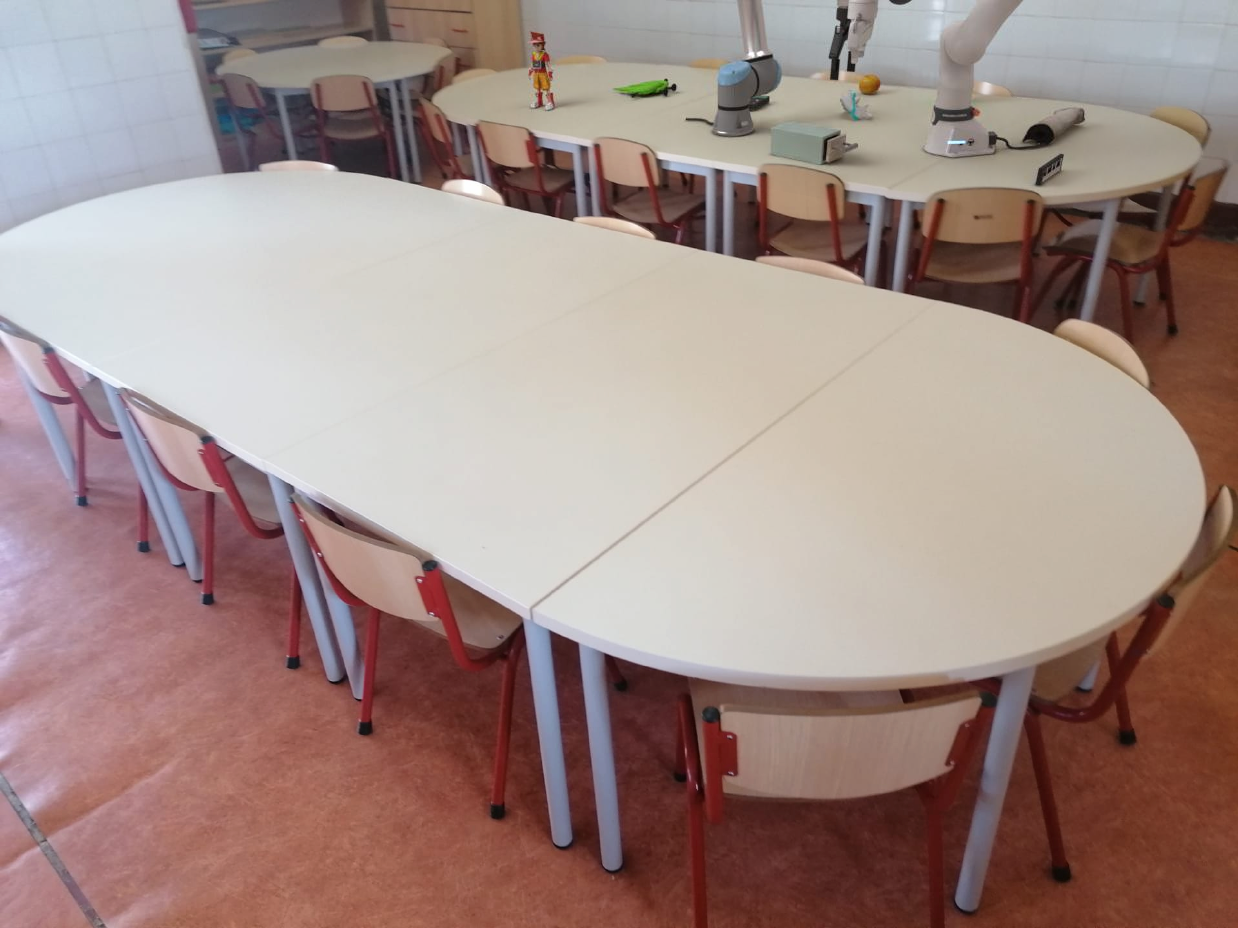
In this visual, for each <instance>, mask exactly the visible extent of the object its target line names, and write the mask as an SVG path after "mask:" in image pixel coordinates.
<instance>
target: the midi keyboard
mask: <svg viewBox="0 0 1238 928" xmlns="http://www.w3.org/2000/svg"><path fill="white" fill-rule="evenodd" d="M1064 157H1065V153H1059V154H1058V155H1056V156H1055V157H1052V159H1051V160H1049V161H1047V162H1045V164H1042V165H1041V166H1039V167H1038V169H1037V175H1036V179H1035V186H1040V185H1042V183H1044V182H1045V181H1047V180H1048V179H1049V178H1051V177H1052V176H1054V175H1055V174H1056V173H1058V172H1060V171H1061V170H1062V165H1063V161H1064Z"/></svg>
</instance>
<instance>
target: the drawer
mask: <svg viewBox="0 0 1238 928" xmlns="http://www.w3.org/2000/svg"><path fill="white" fill-rule="evenodd" d="M858 148H859V144H858V142H854V143H848V142H847V133H846V134H845V133H841V135H840V136H838V135H837V134H836V135H834V136H831V137H829V138H827V139H824V150H823V159H826V162H825V163H831V162H833V161H835V160H838V159H840V158H843V157H844V156H845V154H846V153H848V152H851V151H854V150H855V149H858Z"/></svg>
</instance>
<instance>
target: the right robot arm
mask: <svg viewBox="0 0 1238 928" xmlns="http://www.w3.org/2000/svg"><path fill="white" fill-rule="evenodd" d="M888 1H889V2H890V3H892V4H893V5H897V6H903V5H906V4H909V3H910V2H912V0H888ZM1022 2H1024V0H976V2H975V3H974V6H973V8H972V9H971V10H970V12H969V13H968V15H967V16H966V18H965V20H964V19H960V20H953V21H951V22H949V23H948V24H946V25H945V27H943V29H942V31H941V33H940V36H939V56H938V57H939V58H938V83H937V90H936V97H935V104H934V105H933V109H932V111H931V125H930V131H929V134H928V137H927V140H926V143H925V145H924V147H923V150H924V151H925V152H927V153H929V154H933V155H937V156H944V157H947V158H961V157H971V156H981V155H982V156H983V155H991V154H994V153H995V150H996V148H995V146H996V145H997V142H998V141H1002V142H1004V143H1005V147H1006V148H1007V149H1009V150H1017V151H1018V150H1022V151H1023V150H1032V149H1037V148H1040V147H1041V148H1042V147H1045V146H1047V145H1046V143H1042V144H1038V143H1037V144H1034V145H1024V146H1023V145H1022V146H1012V145H1011V144H1010V142H1009V140H1008V139H1007V138H1005V137H1000V136H998V134H997V133H996V132H995V131H991V130H990V131H988V129H987V128H986V127H985V126H984V125H983V124H982V123H980V121H978V120H977V118H975V117H978V116H979V115H981V110H980V109H978V108H976V107H974V106H973V105H972V98H973V93H974V92H973V91H974V87H975V73H974V72H975V64H977V62H979V61H980V60H981V59H982V58H983V57H984V55H985V54H986V51H987V48H988V47H989V45H990V44H991V43H992V41H993V39H994V38H995V36H996V35H997V33H998V32H999V30H1000V29H1001V28H1002V26H1003V25H1004V23H1005V22H1006V21H1007V20H1008V18H1009V17H1010V16H1011V15H1012V13H1014V12H1015V11H1016V9H1017V8H1018V7H1019V6H1020V5H1021V4H1022ZM878 11H879V0H849V5H848V16H847V18H848V19H851V24H850V28H849V34H848V41H846V42H847V43H846V47H847V50H848V51H851V57H852V58H851V63H853V64H856V65H857V63H858V61H859V58H863V57H864V56H865V51H866V47H867V42H868V41H870V40H871V39H872V35H873V30H874V26H875V20H876V19H877V16H878Z"/></svg>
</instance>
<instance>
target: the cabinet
mask: <svg viewBox="0 0 1238 928" xmlns="http://www.w3.org/2000/svg"><path fill="white" fill-rule="evenodd" d="M836 134H837V135H838V136H840V135H842V129H838V128H832V127H827V126H820V125H815V124H809V123H803V122H797V121H792V120H790V121H786V122H784V123H781V124H778V125H776V126H773V127H771V137H770V155H772V156H777V157H782V158H786V159H792V160H796V161H801V162H807V163H812V164H817V165H824V164H826V163H827V162H826V159H823V150H824V139H827V138H829V137H831V136H834V135H836Z"/></svg>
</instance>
